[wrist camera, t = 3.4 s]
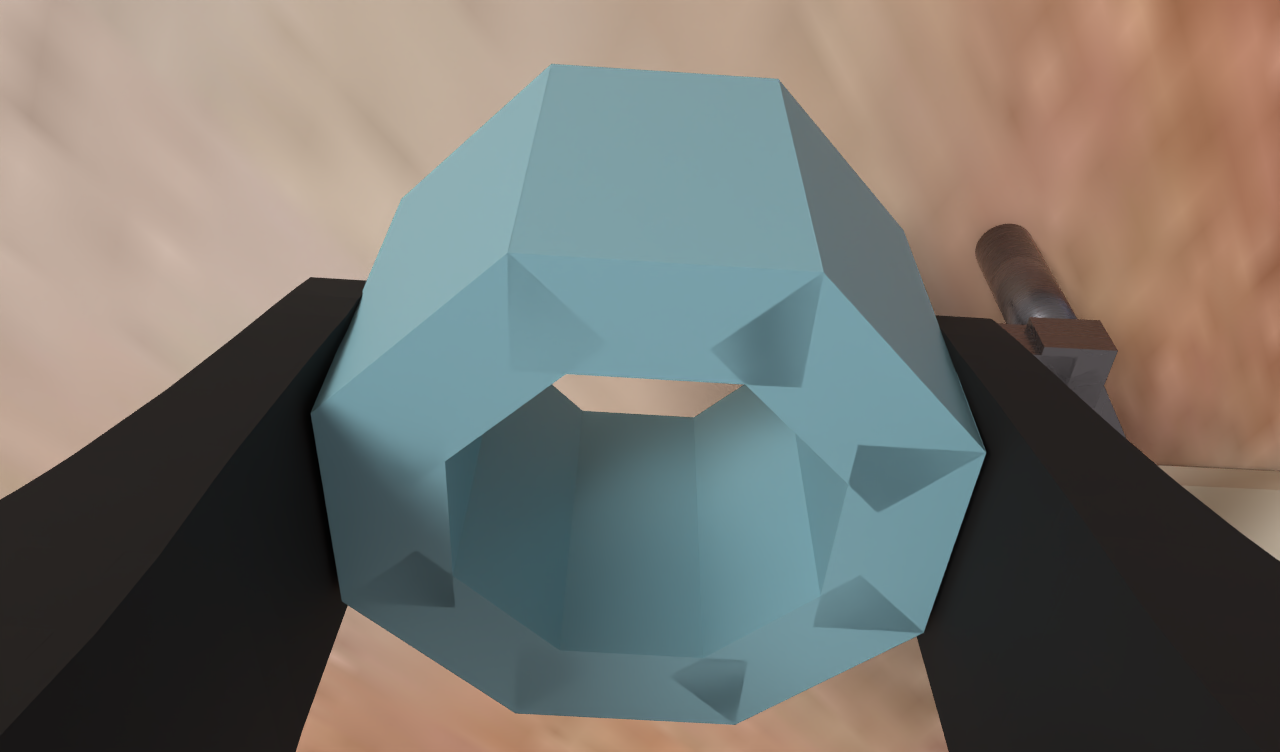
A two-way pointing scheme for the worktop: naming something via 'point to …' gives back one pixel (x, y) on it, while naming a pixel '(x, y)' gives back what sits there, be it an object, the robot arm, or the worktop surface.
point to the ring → (645, 444)
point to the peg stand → (1238, 499)
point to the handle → (1046, 317)
